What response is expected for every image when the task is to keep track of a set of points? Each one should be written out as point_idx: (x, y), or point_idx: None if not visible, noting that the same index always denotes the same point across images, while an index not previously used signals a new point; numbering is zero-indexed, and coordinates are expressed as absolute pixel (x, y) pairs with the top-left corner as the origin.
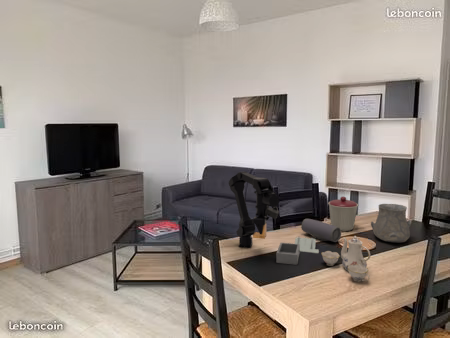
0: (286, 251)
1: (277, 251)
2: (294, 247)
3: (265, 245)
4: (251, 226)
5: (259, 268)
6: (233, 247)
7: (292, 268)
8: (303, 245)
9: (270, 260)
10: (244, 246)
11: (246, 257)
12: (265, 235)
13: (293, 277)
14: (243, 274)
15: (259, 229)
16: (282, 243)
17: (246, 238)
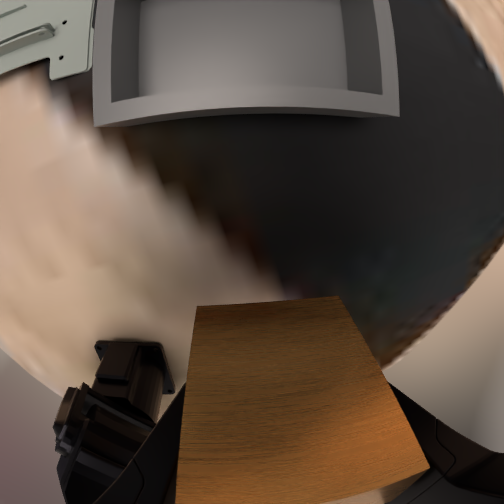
0: (136, 74)
1: (365, 107)
2: (126, 4)
3: (68, 264)
4: (121, 468)
5: (444, 212)
6: None
7: (406, 25)
8: (29, 11)
9: (332, 163)
10: (163, 371)
11: None
12: (273, 317)
13: (481, 45)
14: (484, 267)
15: None
16: (112, 99)
17: (148, 403)
